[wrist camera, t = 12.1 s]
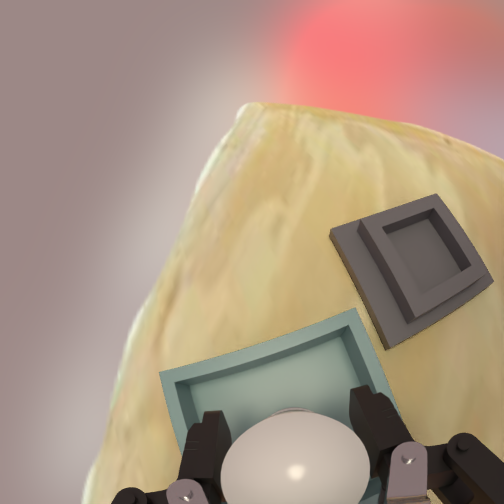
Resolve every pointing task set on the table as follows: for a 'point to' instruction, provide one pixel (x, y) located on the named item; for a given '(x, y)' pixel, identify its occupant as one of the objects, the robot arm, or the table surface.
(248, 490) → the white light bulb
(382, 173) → the table surface
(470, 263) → the grey recessed base plate
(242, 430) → the parts tray
